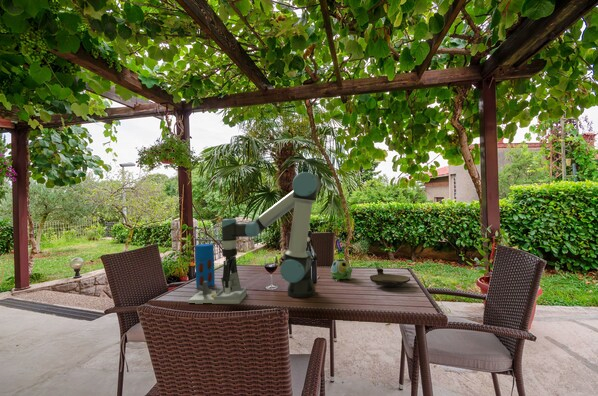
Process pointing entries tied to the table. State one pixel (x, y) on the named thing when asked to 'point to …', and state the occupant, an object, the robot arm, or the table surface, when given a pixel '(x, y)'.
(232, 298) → the board
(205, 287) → the breaker tagged
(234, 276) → the electrical switch
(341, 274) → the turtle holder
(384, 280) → the oil lamp
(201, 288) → the breaker off
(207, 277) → the blue tall box
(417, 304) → the table surface
